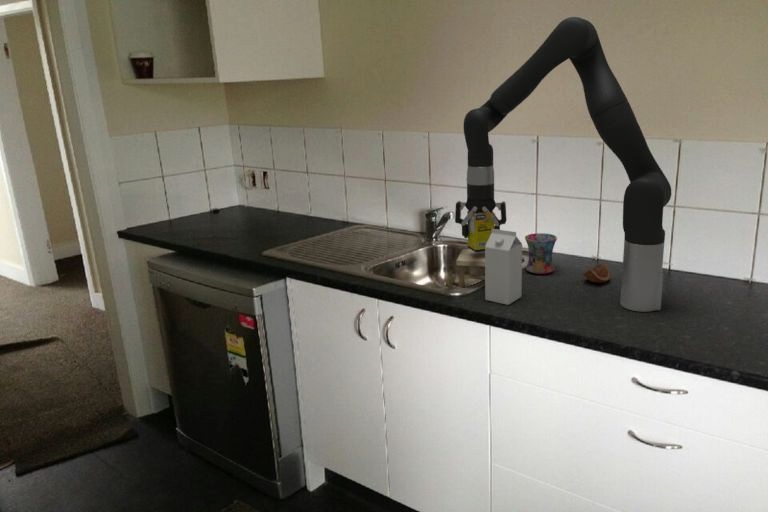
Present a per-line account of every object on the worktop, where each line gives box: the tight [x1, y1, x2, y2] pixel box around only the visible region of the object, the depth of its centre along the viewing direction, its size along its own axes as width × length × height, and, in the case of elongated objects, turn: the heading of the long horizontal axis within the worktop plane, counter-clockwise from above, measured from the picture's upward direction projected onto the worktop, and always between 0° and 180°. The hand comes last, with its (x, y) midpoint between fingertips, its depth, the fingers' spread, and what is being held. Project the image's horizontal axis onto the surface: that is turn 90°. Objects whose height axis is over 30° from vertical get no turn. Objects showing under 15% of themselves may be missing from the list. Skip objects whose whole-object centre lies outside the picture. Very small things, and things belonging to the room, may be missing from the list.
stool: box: [456, 248, 485, 288], centre depth 186 cm, size 12×12×8 cm
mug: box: [524, 232, 558, 275], centre depth 193 cm, size 12×9×11 cm
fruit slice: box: [582, 262, 611, 284], centre depth 181 cm, size 8×7×5 cm
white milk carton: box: [484, 229, 523, 306], centre depth 170 cm, size 7×7×19 cm
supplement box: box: [466, 210, 495, 252], centre depth 182 cm, size 6×6×11 cm
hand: (480, 237), depth 183 cm, fingers closed on supplement box, 8 cm apart
